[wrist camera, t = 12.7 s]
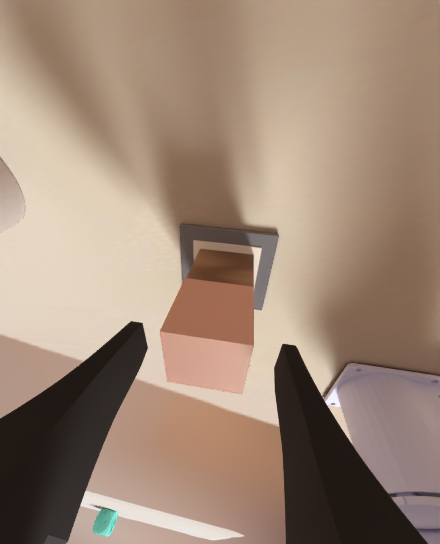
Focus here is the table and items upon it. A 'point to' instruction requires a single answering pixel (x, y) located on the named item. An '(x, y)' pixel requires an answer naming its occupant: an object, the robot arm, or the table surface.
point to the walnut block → (223, 267)
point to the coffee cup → (10, 199)
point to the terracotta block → (209, 335)
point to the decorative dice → (105, 522)
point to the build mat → (235, 242)
